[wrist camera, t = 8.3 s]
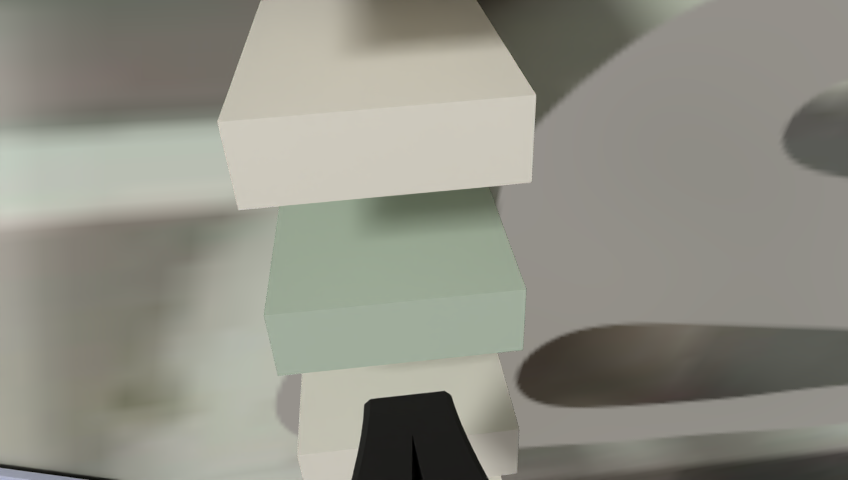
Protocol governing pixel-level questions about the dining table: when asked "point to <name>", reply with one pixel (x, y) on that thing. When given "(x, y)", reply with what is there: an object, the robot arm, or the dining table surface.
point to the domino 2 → (392, 282)
